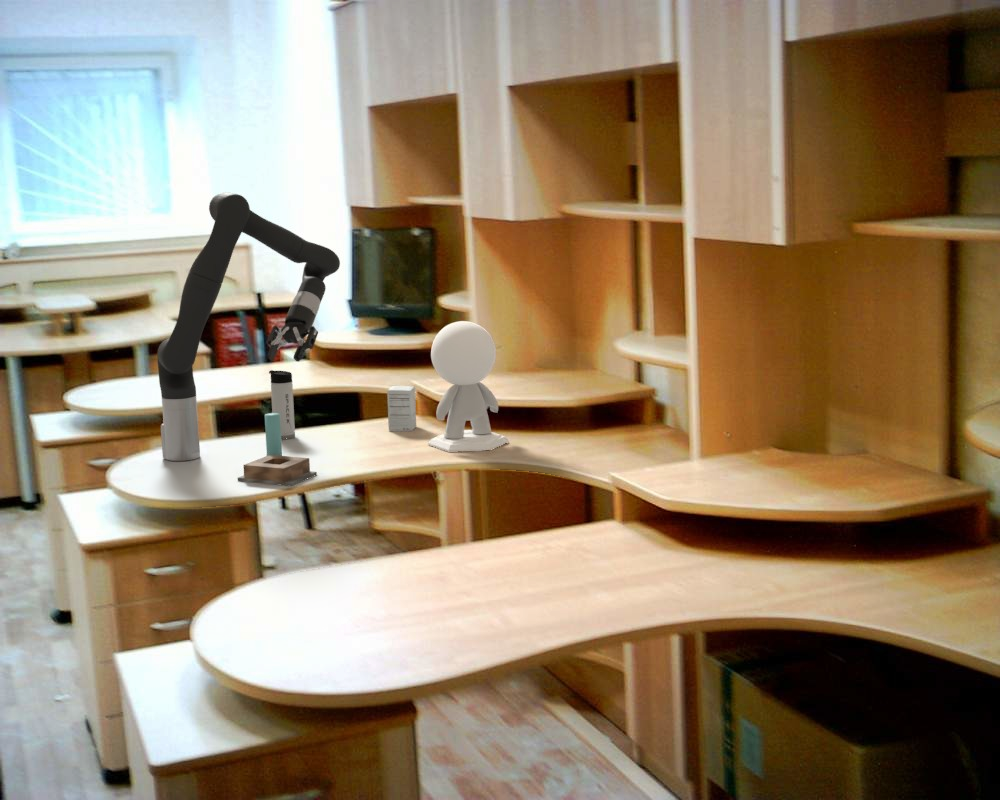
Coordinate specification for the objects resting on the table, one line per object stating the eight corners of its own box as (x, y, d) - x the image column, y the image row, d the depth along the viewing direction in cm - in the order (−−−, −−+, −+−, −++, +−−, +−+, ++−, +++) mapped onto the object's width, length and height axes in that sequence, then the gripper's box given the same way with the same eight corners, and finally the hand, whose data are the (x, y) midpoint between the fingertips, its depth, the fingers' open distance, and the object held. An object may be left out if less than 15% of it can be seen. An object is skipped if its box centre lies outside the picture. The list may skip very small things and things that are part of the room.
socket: (237, 480, 319) (236, 464, 319) (264, 470, 330) (263, 454, 329) (291, 485, 313) (290, 469, 312) (316, 474, 324) (315, 458, 323)
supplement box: (393, 426, 384) (391, 385, 381) (417, 426, 383) (415, 385, 380) (387, 431, 376) (386, 389, 374) (412, 431, 375) (410, 390, 373)
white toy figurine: (476, 432, 372) (473, 315, 365) (520, 446, 353) (518, 322, 346) (418, 441, 361) (414, 321, 354) (459, 456, 342) (456, 328, 336)
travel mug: (274, 435, 374) (271, 369, 370) (296, 435, 374) (293, 368, 370) (270, 439, 368) (266, 372, 364) (292, 439, 367) (289, 372, 364)
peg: (264, 467, 334) (261, 415, 331) (272, 463, 337) (270, 412, 335) (277, 468, 332) (274, 416, 330) (285, 464, 336) (282, 413, 333)
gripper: (275, 303, 350) (255, 351, 343) (318, 303, 344) (298, 352, 336) (288, 319, 356) (268, 366, 348) (330, 319, 350) (311, 367, 342)
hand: (283, 359), depth 342 cm, fingers open, 8 cm apart
